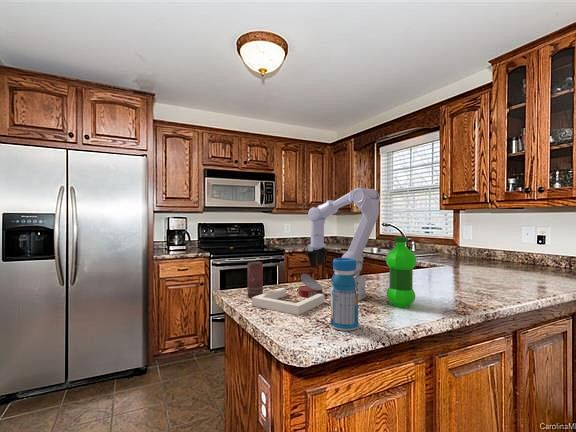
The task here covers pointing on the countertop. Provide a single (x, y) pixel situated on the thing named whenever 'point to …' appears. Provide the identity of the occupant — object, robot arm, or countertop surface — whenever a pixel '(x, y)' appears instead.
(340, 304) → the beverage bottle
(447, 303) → the countertop surface
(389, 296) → the plastic bottle
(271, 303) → the notched board
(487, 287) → the countertop surface
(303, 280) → the canned food
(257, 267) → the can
